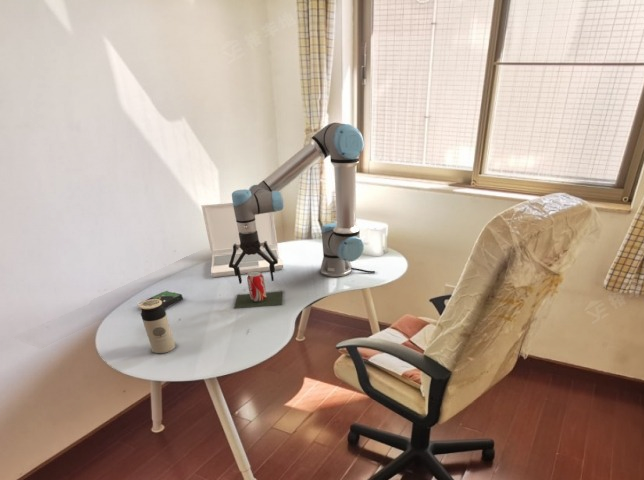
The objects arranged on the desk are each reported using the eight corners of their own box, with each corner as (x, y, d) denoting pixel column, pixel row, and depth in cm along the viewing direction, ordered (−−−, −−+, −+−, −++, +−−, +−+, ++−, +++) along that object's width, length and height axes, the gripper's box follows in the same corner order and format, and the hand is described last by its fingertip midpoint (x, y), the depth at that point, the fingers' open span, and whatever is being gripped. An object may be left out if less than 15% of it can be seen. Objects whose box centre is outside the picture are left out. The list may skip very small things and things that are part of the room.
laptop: (212, 278, 224) (199, 218, 208) (213, 260, 245) (201, 205, 229) (283, 269, 230) (276, 211, 214) (278, 253, 251) (271, 199, 235)
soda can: (263, 303, 197) (259, 277, 191) (248, 302, 199) (243, 276, 192) (269, 296, 203) (265, 270, 196) (254, 295, 204) (250, 270, 198)
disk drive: (157, 313, 193) (183, 299, 203) (155, 307, 191) (182, 293, 202) (140, 309, 197) (167, 295, 208) (138, 303, 196) (165, 289, 206)
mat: (282, 291, 207) (282, 291, 207) (281, 304, 196) (281, 304, 196) (237, 295, 206) (237, 294, 206) (234, 308, 194) (234, 308, 194)
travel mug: (154, 344, 170) (139, 300, 160) (176, 341, 172) (163, 297, 162) (151, 355, 164) (136, 309, 154) (174, 352, 165) (161, 306, 155)
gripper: (214, 236, 180) (226, 287, 192) (278, 231, 182) (285, 281, 194) (217, 231, 186) (228, 280, 198) (279, 226, 188) (286, 275, 200)
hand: (256, 281), depth 196 cm, fingers open, 13 cm apart
